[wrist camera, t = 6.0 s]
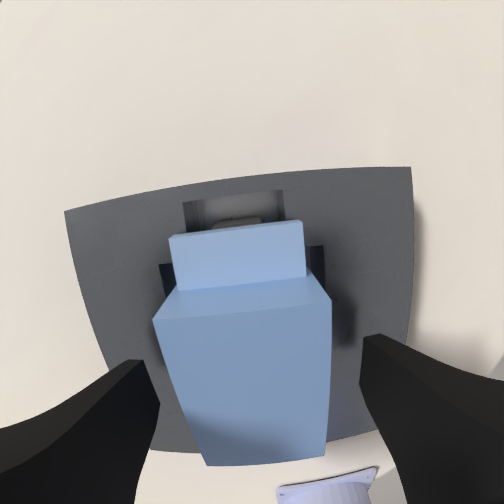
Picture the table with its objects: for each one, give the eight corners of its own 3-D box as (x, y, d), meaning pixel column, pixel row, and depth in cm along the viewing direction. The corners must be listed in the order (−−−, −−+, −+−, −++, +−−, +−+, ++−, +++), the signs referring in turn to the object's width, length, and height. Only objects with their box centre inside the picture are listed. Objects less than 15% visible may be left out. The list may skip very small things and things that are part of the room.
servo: (302, 395, 12) (321, 474, 7) (223, 403, 12) (216, 483, 8) (291, 211, 10) (328, 232, 5) (186, 224, 10) (136, 255, 6)
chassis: (370, 397, 13) (385, 426, 11) (161, 418, 13) (151, 449, 11) (379, 169, 10) (410, 167, 8) (97, 205, 10) (63, 211, 8)
